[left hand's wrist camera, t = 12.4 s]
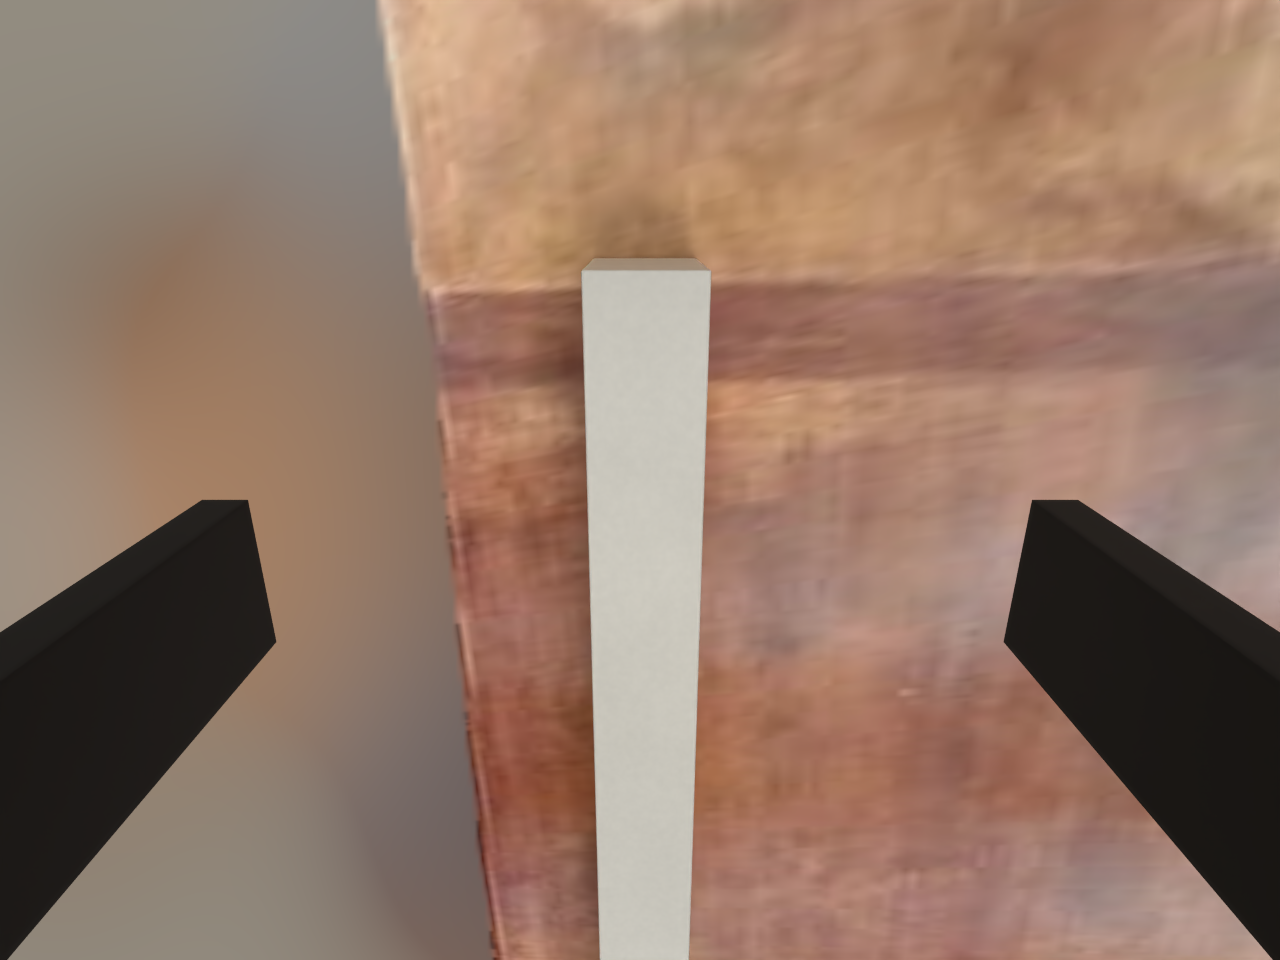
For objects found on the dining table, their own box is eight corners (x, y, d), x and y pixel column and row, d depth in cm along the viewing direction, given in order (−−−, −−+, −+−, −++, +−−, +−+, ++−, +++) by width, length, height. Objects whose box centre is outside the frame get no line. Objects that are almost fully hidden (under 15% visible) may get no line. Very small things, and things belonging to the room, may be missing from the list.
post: (593, 257, 35) (580, 269, 28) (696, 257, 35) (711, 270, 28) (613, 1200, 62) (609, 1333, 54) (672, 1199, 62) (676, 1333, 54)
